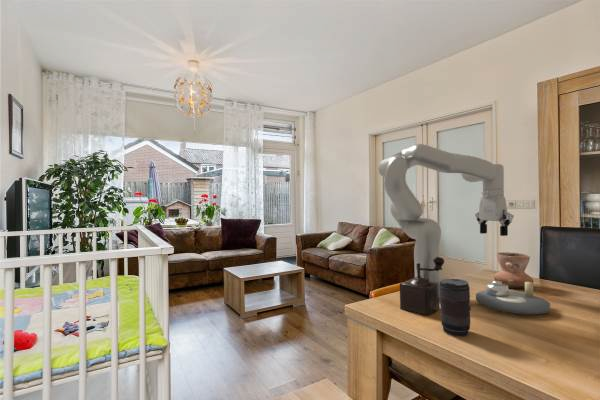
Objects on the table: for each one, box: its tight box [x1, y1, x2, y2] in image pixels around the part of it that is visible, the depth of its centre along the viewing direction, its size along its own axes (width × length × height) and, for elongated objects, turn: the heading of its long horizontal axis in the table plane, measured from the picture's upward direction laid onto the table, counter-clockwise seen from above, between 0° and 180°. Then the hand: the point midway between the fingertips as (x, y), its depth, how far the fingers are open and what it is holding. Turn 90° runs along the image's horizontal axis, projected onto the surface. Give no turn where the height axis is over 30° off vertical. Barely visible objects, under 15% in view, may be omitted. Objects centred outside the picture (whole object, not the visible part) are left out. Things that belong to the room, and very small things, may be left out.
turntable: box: [475, 282, 551, 315], centre depth 112 cm, size 22×22×6 cm
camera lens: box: [439, 278, 472, 338], centre depth 92 cm, size 8×8×15 cm
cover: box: [485, 280, 510, 297], centre depth 117 cm, size 7×7×5 cm
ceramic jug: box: [493, 251, 534, 289], centre depth 139 cm, size 18×14×14 cm
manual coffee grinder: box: [399, 256, 445, 317], centre depth 114 cm, size 16×11×18 cm
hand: (493, 234), depth 130 cm, fingers open, 9 cm apart
